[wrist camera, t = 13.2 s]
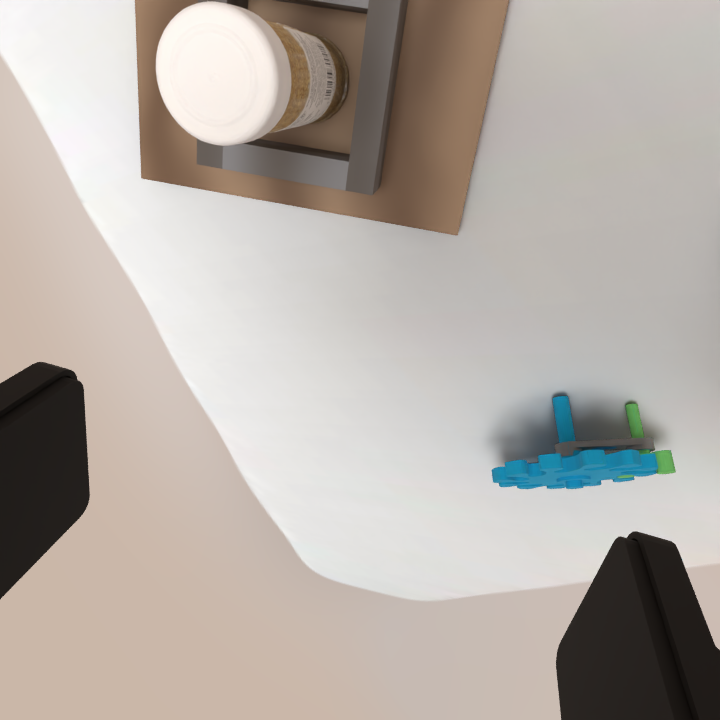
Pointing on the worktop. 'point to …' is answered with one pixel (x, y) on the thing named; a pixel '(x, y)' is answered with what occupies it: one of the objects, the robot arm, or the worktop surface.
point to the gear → (587, 457)
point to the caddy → (349, 112)
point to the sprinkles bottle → (245, 74)
